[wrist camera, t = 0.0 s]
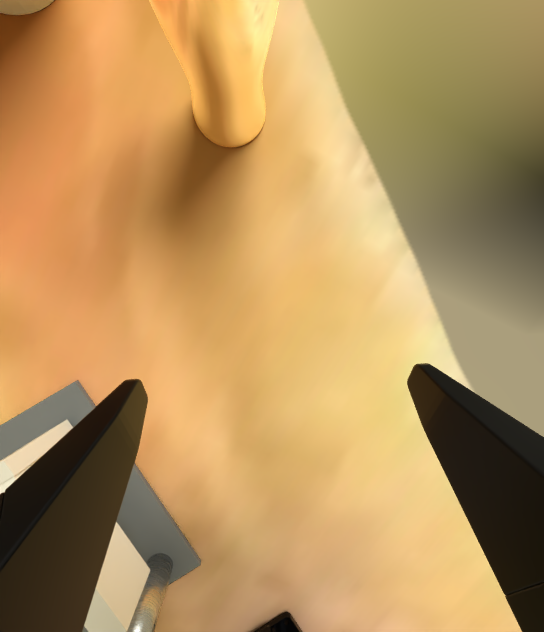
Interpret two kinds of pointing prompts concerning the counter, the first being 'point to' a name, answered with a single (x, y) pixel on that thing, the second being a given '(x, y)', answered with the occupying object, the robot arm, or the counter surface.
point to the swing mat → (139, 500)
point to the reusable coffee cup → (22, 6)
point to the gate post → (152, 594)
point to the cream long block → (121, 558)
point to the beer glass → (222, 61)
